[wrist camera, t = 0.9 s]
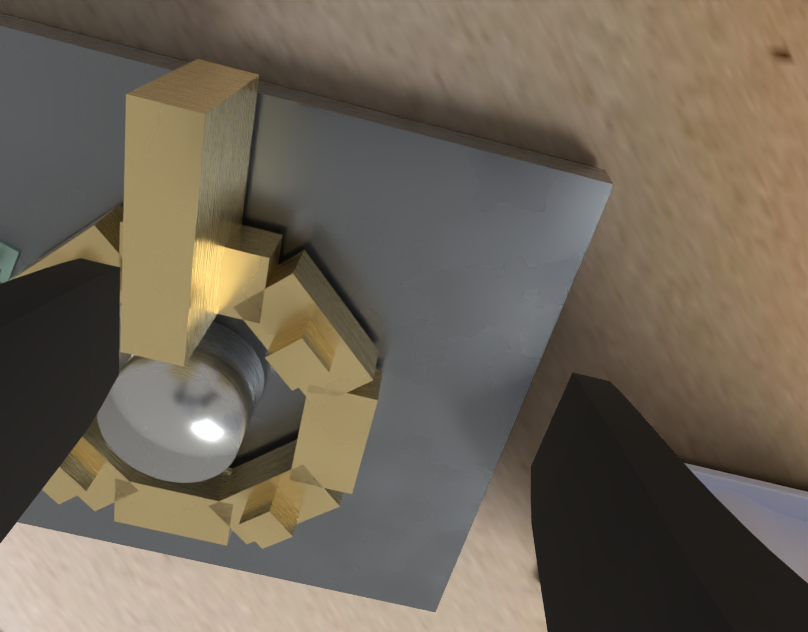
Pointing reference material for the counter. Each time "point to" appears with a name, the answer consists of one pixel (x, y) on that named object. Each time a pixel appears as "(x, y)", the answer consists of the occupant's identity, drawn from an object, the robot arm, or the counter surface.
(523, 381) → the dark gray base plate
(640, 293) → the counter surface
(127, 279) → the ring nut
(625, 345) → the counter surface
